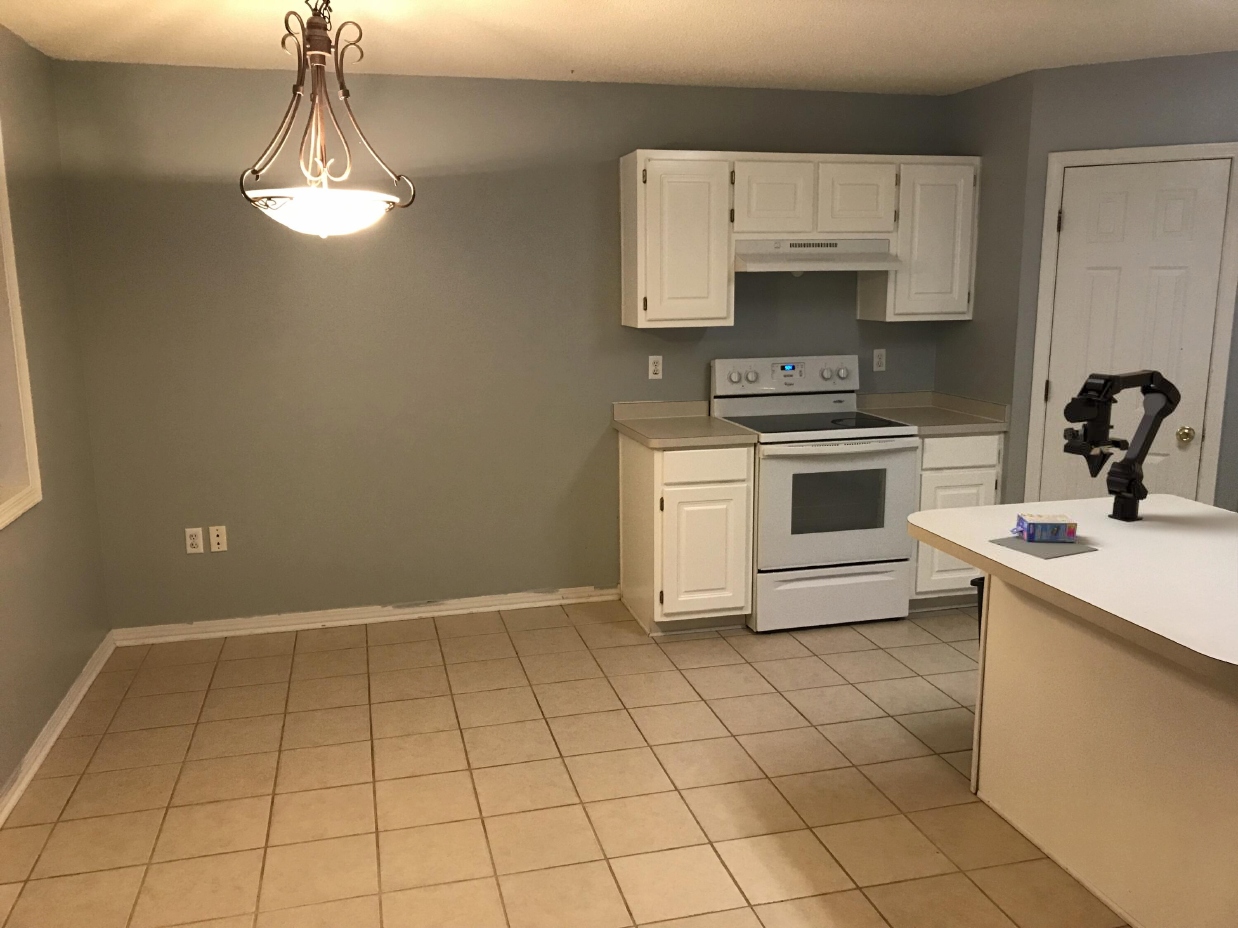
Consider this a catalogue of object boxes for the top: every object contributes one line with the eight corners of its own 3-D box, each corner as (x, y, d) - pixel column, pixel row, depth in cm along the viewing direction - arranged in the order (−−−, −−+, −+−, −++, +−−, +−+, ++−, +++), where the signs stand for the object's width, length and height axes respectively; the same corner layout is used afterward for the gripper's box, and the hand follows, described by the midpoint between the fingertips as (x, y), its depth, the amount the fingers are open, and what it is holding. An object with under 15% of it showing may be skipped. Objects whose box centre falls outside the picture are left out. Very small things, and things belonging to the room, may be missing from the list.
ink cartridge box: (1063, 534, 259) (1006, 532, 261) (1065, 514, 258) (1008, 511, 260) (1075, 544, 249) (1016, 541, 251) (1078, 522, 248) (1018, 520, 250)
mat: (1039, 533, 261) (1039, 532, 261) (1097, 550, 245) (1097, 548, 245) (988, 541, 253) (988, 540, 253) (1045, 559, 237) (1045, 558, 237)
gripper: (1097, 414, 275) (1092, 469, 278) (1049, 419, 268) (1044, 475, 271) (1132, 419, 265) (1127, 476, 268) (1083, 424, 258) (1078, 482, 261)
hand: (1093, 477), depth 267 cm, fingers closed
